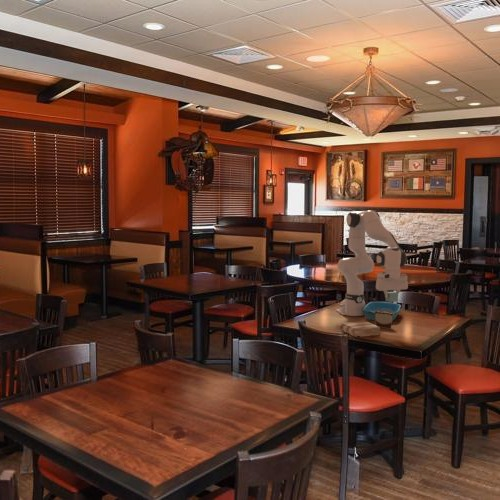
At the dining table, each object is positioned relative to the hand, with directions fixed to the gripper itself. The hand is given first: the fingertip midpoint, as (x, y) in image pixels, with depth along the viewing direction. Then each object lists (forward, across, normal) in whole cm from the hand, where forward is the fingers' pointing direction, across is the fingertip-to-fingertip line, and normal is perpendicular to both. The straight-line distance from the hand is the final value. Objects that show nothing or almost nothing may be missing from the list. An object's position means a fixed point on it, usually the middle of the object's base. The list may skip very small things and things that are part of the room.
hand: (391, 297), depth 327 cm
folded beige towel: (+21, +17, -5) cm, 28 cm away
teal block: (+2, 0, 0) cm, 2 cm away
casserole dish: (+22, -19, -38) cm, 47 cm away
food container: (+21, -5, -13) cm, 25 cm away
